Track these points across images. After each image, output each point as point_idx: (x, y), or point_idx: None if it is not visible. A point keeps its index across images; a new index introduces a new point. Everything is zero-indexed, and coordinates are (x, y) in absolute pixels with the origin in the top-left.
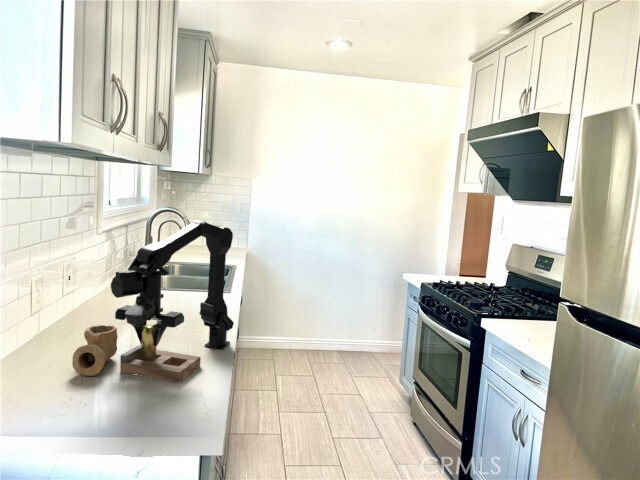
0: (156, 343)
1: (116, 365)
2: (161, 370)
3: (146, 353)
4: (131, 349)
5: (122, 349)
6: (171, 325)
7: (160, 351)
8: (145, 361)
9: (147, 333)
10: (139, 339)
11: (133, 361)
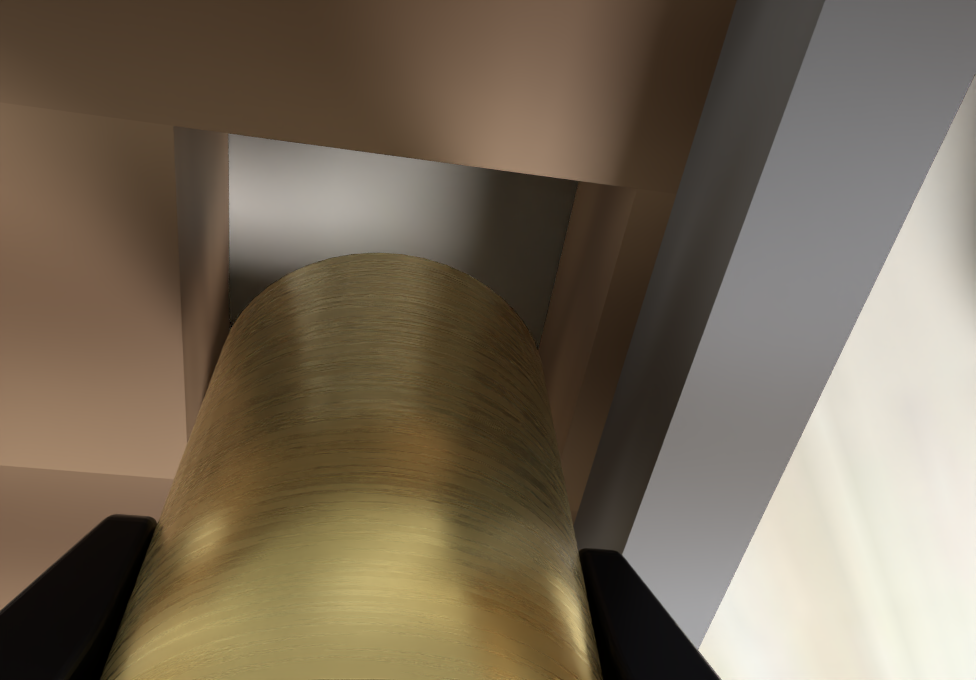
0: (37, 593)
1: (945, 186)
2: None
3: (349, 292)
4: (808, 399)
5: (959, 635)
6: None
7: None
8: (325, 115)
9: None
10: (685, 659)
11: (604, 40)
